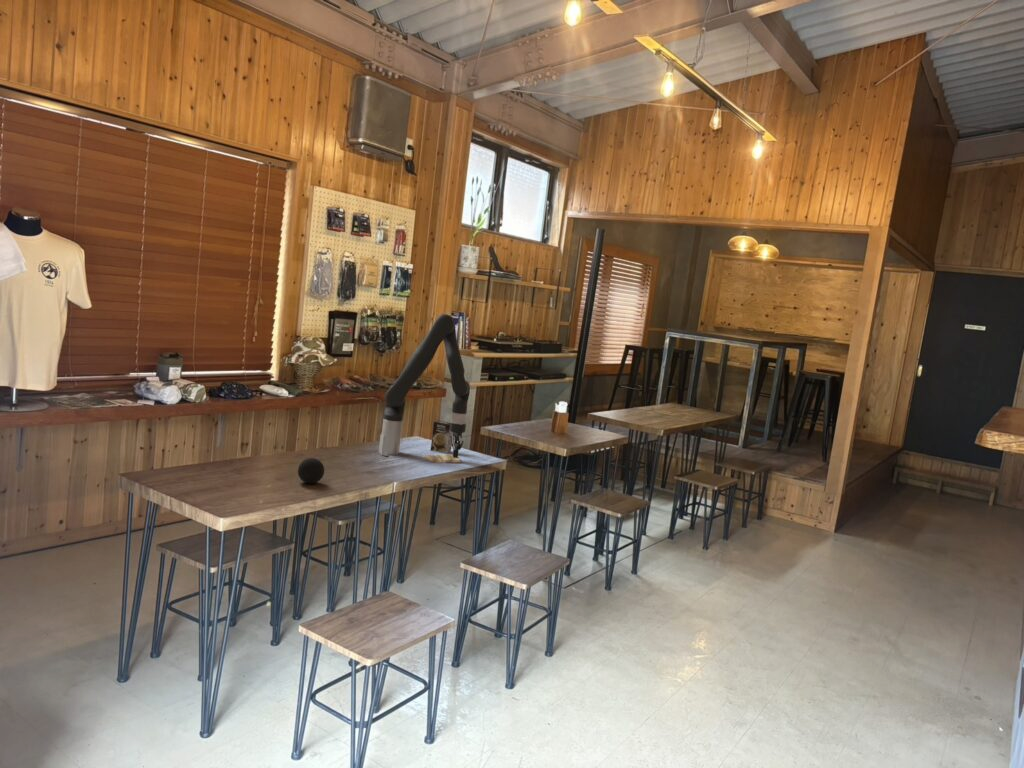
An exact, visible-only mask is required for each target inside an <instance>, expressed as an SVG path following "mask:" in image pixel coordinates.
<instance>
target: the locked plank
mask: <svg viewBox="0 0 1024 768" xmlns="http://www.w3.org/2000/svg"><path fill="white" fill-rule="evenodd" d="M424 458H425V459H426V460H428V461H429V462H430V463H432V464H433V463H437V464H439V463H440V464H443V463H444V462H442V460H440V459H439V458H438V457H437V455H434V454H433V455H431V454H424Z"/></svg>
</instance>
